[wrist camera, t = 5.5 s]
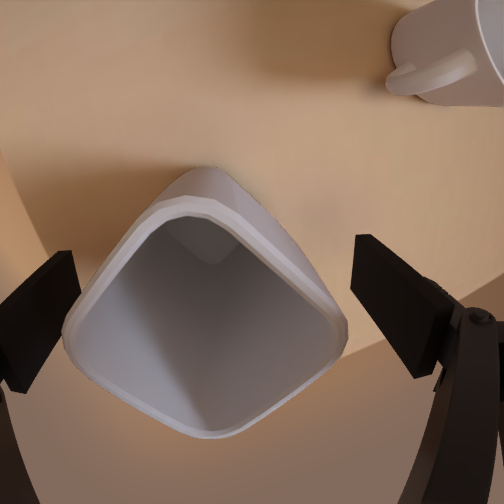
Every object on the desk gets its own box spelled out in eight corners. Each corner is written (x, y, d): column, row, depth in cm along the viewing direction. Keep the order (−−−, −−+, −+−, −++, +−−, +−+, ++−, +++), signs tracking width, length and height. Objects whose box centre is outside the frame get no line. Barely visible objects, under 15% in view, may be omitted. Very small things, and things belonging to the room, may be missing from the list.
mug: (385, 142, 22) (479, 159, 12) (329, 46, 19) (403, -1, 9) (476, 87, 20) (564, 88, 11) (434, 5, 17) (515, -25, 8)
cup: (140, 220, 22) (44, 349, 8) (207, 143, 21) (183, 164, 7) (214, 282, 24) (215, 450, 11) (283, 214, 23) (371, 338, 9)
